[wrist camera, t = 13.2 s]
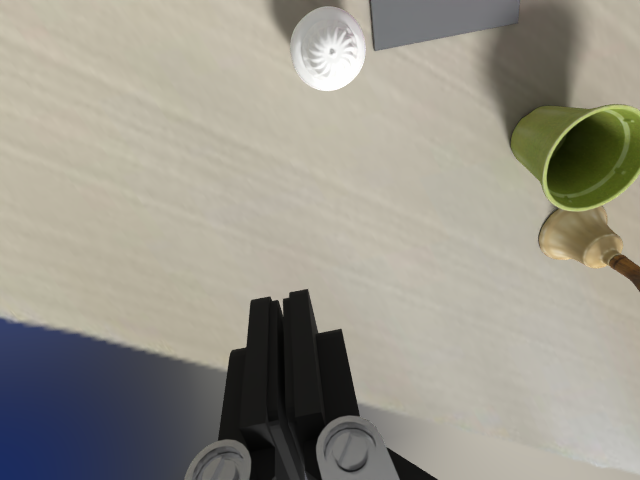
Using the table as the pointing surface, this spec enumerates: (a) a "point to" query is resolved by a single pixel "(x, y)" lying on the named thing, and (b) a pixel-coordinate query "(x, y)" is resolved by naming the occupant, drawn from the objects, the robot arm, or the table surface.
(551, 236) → the hand bell
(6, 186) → the table surface
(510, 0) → the mat
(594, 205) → the plant pot
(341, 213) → the table surface
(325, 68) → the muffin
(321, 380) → the robot arm
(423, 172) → the table surface
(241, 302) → the table surface
